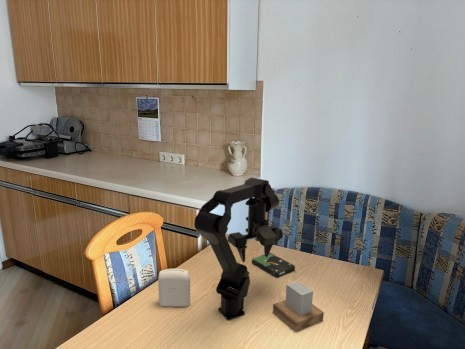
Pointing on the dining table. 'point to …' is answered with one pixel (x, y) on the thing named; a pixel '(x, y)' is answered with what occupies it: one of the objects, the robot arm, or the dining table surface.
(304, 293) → the block
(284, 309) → the stand
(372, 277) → the dining table surface
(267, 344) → the dining table surface
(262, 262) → the disk drive
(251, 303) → the dining table surface
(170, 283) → the photo printer
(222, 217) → the robot arm
